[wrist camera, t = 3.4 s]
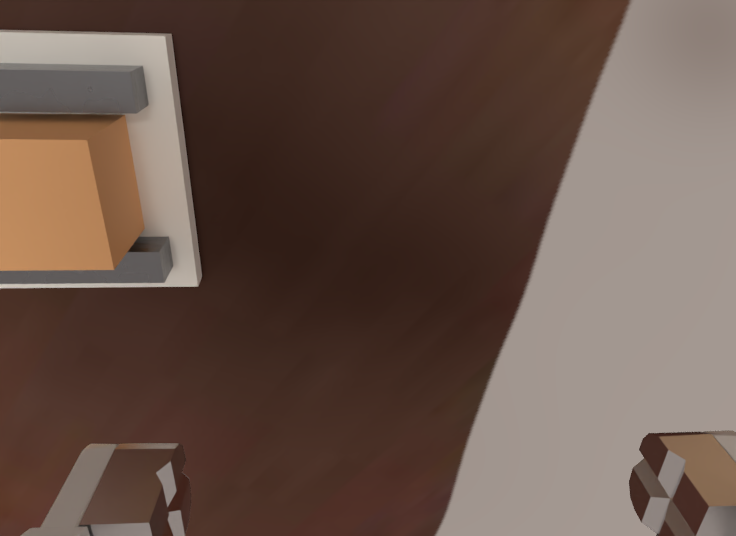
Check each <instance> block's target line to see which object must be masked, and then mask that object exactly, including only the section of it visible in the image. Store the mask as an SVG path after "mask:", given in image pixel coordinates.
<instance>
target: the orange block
mask: <svg viewBox="0 0 736 536" xmlns="http://www.w3.org/2000/svg"><path fill="white" fill-rule="evenodd" d="M144 229H145V227H144V221H143V215H142V209H141V204H140V198H139V192H138V186H137V180H136V175H135V169H134V163H133V157H132V152H131V146H130V140H129V134H128V128H127V123H126V117H125V115H107V114H31V113H0V271H31V270H114V269H115V268H116V267H117V265H118V264H119V263H120V261H121V260H122V259H123V257H124V256H125V255H126V253H127V252H128V251H129V249H130V248H131V246H132V245H133V244H134V242H135V241H136V240H137V238H138V237H139V236H140V234H141V233H142V232H143V230H144Z"/></svg>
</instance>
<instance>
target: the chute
mask: <svg viewBox="0 0 736 536" xmlns="http://www.w3.org/2000/svg"><path fill="white" fill-rule="evenodd" d="M0 113H31V114H107V115H125V117H126V123H127V128H128V134H129V140H130V146H131V152H132V157H133V163H134V169H135V175H136V180H137V186H138V192H139V198H140V204H141V209H142V215H143V221H144V227H145V229H144V230H143V232H142V233H141V234H140V236H139V237H138V238H137V240H136V241H135V242H134V244H133V245H132V246H131V248H130V249H129V251H128V252H127V253H126V255H125V256H124V257H123V259H122V260H121V261H120V263H119V264H118V265H117V267H116V268H115V269H114V270H31V271H0V288H92V287H198V286H199V283H200V281H201V278H202V270H201V262H200V255H199V247H198V239H197V231H196V223H195V215H194V207H193V199H192V191H191V183H190V175H189V168H188V160H187V152H186V144H185V136H184V128H183V120H182V112H181V104H180V96H179V88H178V81H177V73H176V65H175V57H174V49H173V41H172V34H165V33H122V32H79V31H36V30H0Z"/></svg>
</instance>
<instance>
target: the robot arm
mask: <svg viewBox="0 0 736 536" xmlns="http://www.w3.org/2000/svg"><path fill="white" fill-rule="evenodd" d="M639 450H640V452H641V453H642V455H643V457H644V459H643V460H642V461H641V462H639V463H638V464H637V465H636V466H634V467H633V470H632V473H631V477H630V480H629V486H630V497H631V500H632V503H633V506H634V509H635V511H636V513H637V515H638V517H639V518H640V520H641V522H642V523H643V524H645V525H646V526H647V527H649V528H650V529H651V530H653V531H654V532H655V533H657V535H656V536H736V432H734V431H705V432H677V433H675V432H674V433H649V434H648V435H647V436H646V437H644V438H643V440H642V443H641V446H640V449H639ZM185 461H186V458H185V453H184V448H183V445H181V444H167V443H121V444H89V445H88V446H87V447H86V448H85V449H84V450H83V451H82V452H81V454H80V456H79V457H78V459H77V461H76V463H75V465H74V467H73V468H72V470H71V472H70V474H69V476H68V478H67V479H66V481H65V483H64V485H63V487H62V489H61V490H60V492H59V494H58V496H57V498H56V500H55V501H54V503H53V505H52V507H51V509H50V511H49V512H48V514H47V516H46V518H45V520H44V522H43V523H42V525H41V527H40V528H30V529H29V530H27V531H26V532H25V533H23V534H22V535H21V536H185V535H186V531H187V527H188V523H189V517H190V509H191V486H190V480H189V478H188V477H187V476H186V475H184V474H183V473H182V471H183V468H184V465H185Z"/></svg>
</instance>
